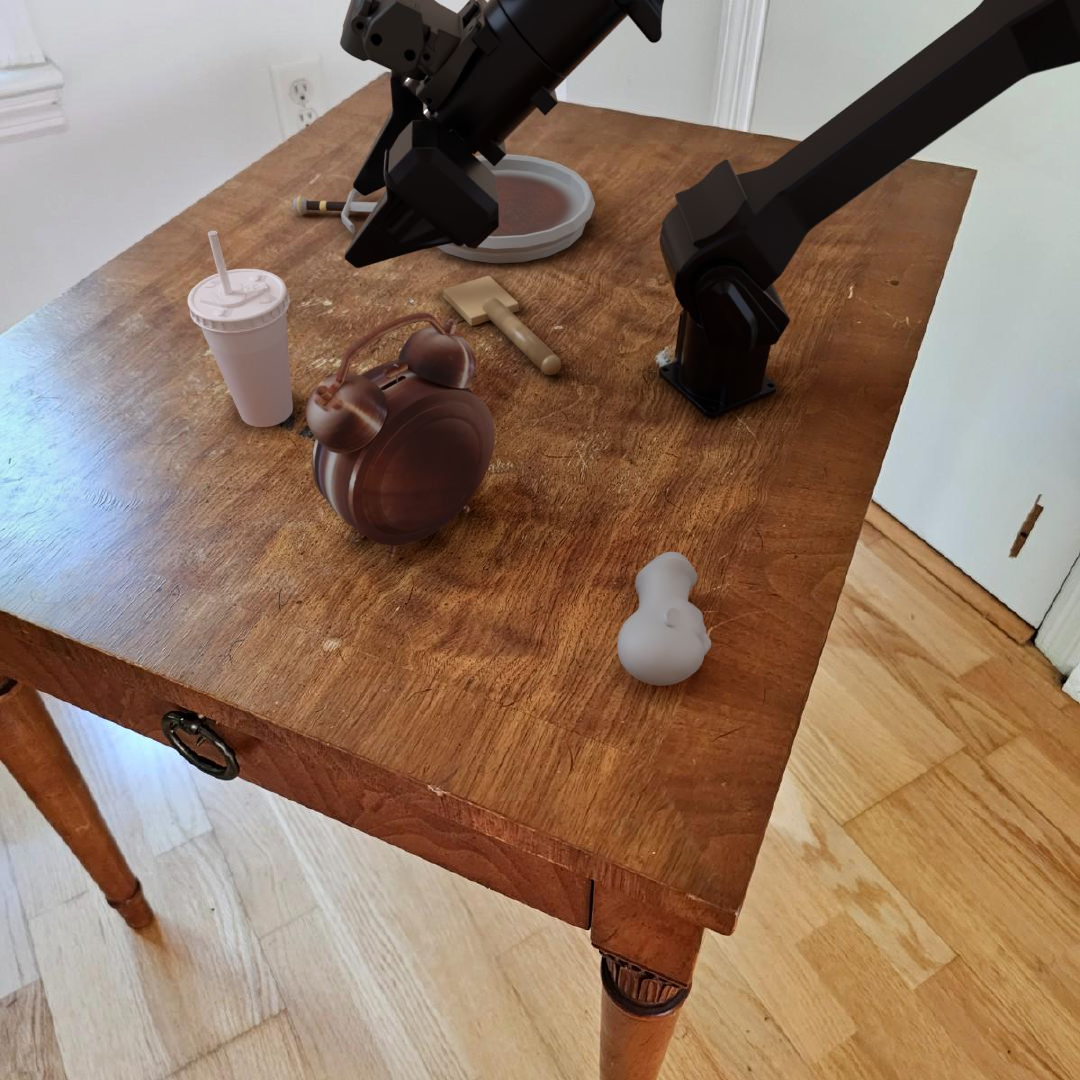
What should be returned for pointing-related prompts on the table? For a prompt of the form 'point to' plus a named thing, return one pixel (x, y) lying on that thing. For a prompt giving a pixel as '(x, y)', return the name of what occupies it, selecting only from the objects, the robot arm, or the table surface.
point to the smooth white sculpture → (664, 624)
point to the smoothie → (247, 337)
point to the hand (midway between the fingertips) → (354, 224)
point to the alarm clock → (402, 436)
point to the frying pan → (511, 210)
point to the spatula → (500, 318)
